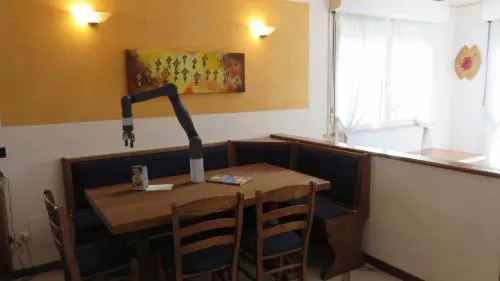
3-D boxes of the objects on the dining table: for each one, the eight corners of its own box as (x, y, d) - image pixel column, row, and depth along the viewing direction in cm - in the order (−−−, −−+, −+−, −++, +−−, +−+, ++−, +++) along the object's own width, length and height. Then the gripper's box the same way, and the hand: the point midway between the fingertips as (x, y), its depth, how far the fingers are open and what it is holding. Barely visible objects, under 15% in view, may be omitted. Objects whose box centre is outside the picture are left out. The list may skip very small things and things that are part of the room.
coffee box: (132, 189, 270) (129, 167, 268) (138, 187, 276) (135, 165, 274) (144, 190, 267) (141, 167, 265) (149, 187, 274) (146, 164, 271)
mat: (173, 184, 281) (173, 184, 281) (170, 189, 268) (170, 189, 268) (149, 186, 280) (148, 185, 279) (145, 190, 267) (145, 190, 267)
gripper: (137, 124, 270) (138, 147, 273) (128, 123, 281) (129, 145, 283) (127, 125, 266) (128, 148, 268) (118, 123, 276) (119, 146, 278)
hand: (129, 147), depth 276 cm, fingers open, 8 cm apart
